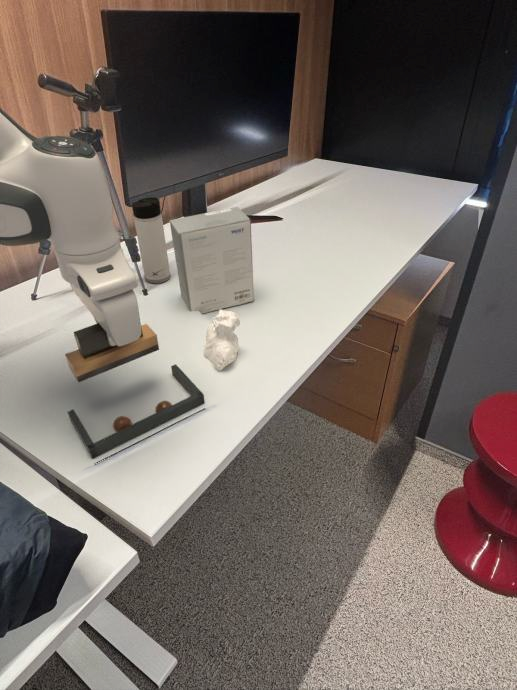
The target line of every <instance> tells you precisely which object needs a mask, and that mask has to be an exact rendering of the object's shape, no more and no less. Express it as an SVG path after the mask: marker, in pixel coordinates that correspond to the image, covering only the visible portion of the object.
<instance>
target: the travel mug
mask: <svg viewBox="0 0 517 690" xmlns="http://www.w3.org/2000/svg"><path fill="white" fill-rule="evenodd" d="M131 209H132V213H133V220H134V226H135V231H136V232H135V233H136V237H137V242H138V248H139V253H140V258H141V264H142V269H143V275H144V276H143V277H144V279H145V281H146V282H147V283H149V284H155V285H157V284H159V285H160V284H162V283H165V282H167V281H169V280H170V278H171V271H170V262H169V256H168V249H167V243H166V235H165V229H164V228H165V227H164V222H163V215H162V210H161V204H160V199H159V198H158V197H144V198H141V199H138V200H137V201H135V202H132V204H131Z"/></svg>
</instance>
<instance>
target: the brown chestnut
mask: <svg viewBox="0 0 517 690" xmlns="http://www.w3.org/2000/svg"><path fill="white" fill-rule="evenodd" d="M132 424H133V421H132V420H131V418H129V417H128V416H125V415H120V416H118V417H116V418H115V419H114V421H113V423H112V428H113V430H114V432H115V433H116V432H118V431H120V430H122V429H124V428H126V427H128V426H130V425H132Z"/></svg>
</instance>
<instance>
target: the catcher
mask: <svg viewBox="0 0 517 690" xmlns="http://www.w3.org/2000/svg"><path fill="white" fill-rule="evenodd" d="M170 368H171V373H172V374H171V375H172V376H173V377H174V378H175V380H177V382H178V383H179V384H180V386H182V387H183V389H184V390H185V391H186V392H187V393H188V394H189V396H188V397H187V398H184V399H183V400H180V401H178V402H175V403H174V404H172V406H170V407H168V408H166V409H163V410H161V411H159V412H157V413H156V412H155V413H153V414H151V415H149V416H147V417H145V418H143V419H141V420H139V421H136V422H135V423H132V425H130V426H128V427H126V428H124V429H122V430H120V431H118V432H116V431H115V432H114V433H112V434H110V435H108V436H105V437H103V438H101V439H99V440H97V441H95V442H94V441H93V440H92V438H91V436H90V435H89V434H88V431H87V429H86V428H85V426H84V425H83V423H82V421H81V419H80V418H79V416H78V414H77V413H76V411H75V410H74V409H70V410H69V411H67V415H68V418H69V420H70V423H71V424H72V426H73V427H74V429H75V431H76V432H77V434H78V436H79V438H80V440H81V441H82V443H83V445H84V446H85V448H86V450H87V453H88V454H89V456H90V458H91V459H92V460H93V459H95V458H98V457H99V456H102V455H103V454H106V453H108V452H110V451H112V450H113V449H116V448H118V447H120V446H122V445H124V444H126V443H128V442H130V441H131V440H134V439H136V438H138V437H140V436H142V435H144V434H146V433H148V432H150V431H152V430H154V429H156V428H158V427H160V426H162V425H164V424H166V423H168V422H170V421H173V420H174V419H176V418H179V417H180V416H182V415H184V414H187V413H189V412H191V411H192V410H195V409H196V408H198V407H200V406H202V405H205V401H206V400H205V395H204V393H203V392H202V391H201V390H200V388H198V387H197V386H196V384H194V382H193V381H192V380H191V379H190V378H189V377H188V376H187V374H186V373H185V372H184V371H183V370H182V369H181V368H180V367H179V366H178V365H177V363H176V364H172V365H171V366H170ZM204 410H206V407H204V408H202V409H199V410H198V411H195V412H194V413H192V414H190V415H188V416H186V417H184V418H182V419H180V420H178V421H176V422H174V423H172V424H170V425H168V426H165V427H164V428H162V429H160V430H158V431H156V432H154V433H152V434H150V435H148V436H146V437H144V438H143V439H140V440H137V441H136V442H134V443H133V444H130V445H129V446H126V447H125V448H123V449H120V450H119V451H115V452H114V453H112V454H110V455H108V456H106V457H104V458H102V459H100V460H99V461H97V462H94V464H95V463H97V464H99V463H101V462H103V461H105V460H108V459H109V458H111V457H113V456H115V455H117V454H119V453H121V452H123V451H125V450H127V449H129V448H131V447H133V446H135V445H137V444H139V443H141V442H143V441H144V440H146V439H148V438H151V437H152V436H154V435H156V434H159V433H160V432H163V431H165V430H167V429H168V428H170V427H172V426H175V425H176V424H179V423H180V422H183V421H185V420H186V419H188V418H190V417H193V416H195V415H196V414H198V413H200V412H203V411H204ZM118 452H119V453H118ZM110 456H111V457H110ZM108 457H109V458H108ZM104 459H105V460H104ZM102 460H103V461H102ZM100 461H101V462H100ZM98 462H99V463H98ZM94 464H93V465H94ZM95 465H96V464H95Z"/></svg>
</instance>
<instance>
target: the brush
mask: <svg viewBox="0 0 517 690" xmlns="http://www.w3.org/2000/svg"><path fill="white" fill-rule="evenodd" d="M140 323H141V321H140ZM105 333H106V331H105V330H104V329H103V328H102V326H101V325H100V324H99V323H95V324H92V325H88V326H86V327H83V328H81V329H78V330H75V331H73V336H74V340H75V343H76V346H77V349H74V350H72V351H70V352H67V353H65V354H64V356H65V359H66V362H67V365H68V368H69V370H70V372H71V373H72V375H73V376H74V378H75V380H76V381H77V383H82V382H83V381H86V380H88V379H91V378H93V377H96V376H98V375H100V374H101V375H102V374H103V373H105V372H106V373H107V372H108V371H110V370H113V369H115V368H118V367H120V366H122V365H125V364H128V363H131V362H133V361H135V360H137V359H141V358H142V357H146V356H147V355H150V354H152V353H155V352H158V351H159V350H160V346H159V341H158V334H156V332H155V331H154V330H152V328H151V327H150V326H149V325H148V324H147V323H145V324H142V323H141V335H140V338H139V339H138V340H136V341H134V342H131V343H129V344H126V345H123V346H117V345H115V346H111V345H110V344H109V343H108V341H107V338H106V335H105Z"/></svg>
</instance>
